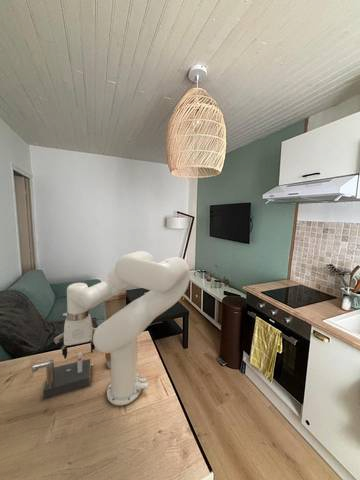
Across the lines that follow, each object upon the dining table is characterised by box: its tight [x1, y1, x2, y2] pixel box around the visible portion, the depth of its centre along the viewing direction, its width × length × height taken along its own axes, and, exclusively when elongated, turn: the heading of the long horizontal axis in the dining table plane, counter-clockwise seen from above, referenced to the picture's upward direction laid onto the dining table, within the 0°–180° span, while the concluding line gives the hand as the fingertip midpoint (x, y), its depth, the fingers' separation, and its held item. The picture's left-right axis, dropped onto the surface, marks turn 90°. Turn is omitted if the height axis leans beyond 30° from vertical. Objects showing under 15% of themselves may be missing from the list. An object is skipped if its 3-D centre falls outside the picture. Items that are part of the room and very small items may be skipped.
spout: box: [31, 359, 55, 387], centre depth 71 cm, size 7×2×9 cm, turn 113°
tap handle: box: [76, 350, 84, 373], centre depth 80 cm, size 6×2×5 cm, turn 23°
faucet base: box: [42, 358, 94, 400], centre depth 78 cm, size 17×11×4 cm, turn 113°
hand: (79, 353), depth 80 cm, fingers open, 9 cm apart
